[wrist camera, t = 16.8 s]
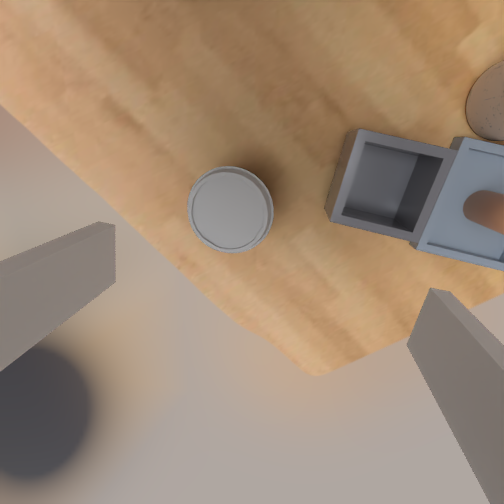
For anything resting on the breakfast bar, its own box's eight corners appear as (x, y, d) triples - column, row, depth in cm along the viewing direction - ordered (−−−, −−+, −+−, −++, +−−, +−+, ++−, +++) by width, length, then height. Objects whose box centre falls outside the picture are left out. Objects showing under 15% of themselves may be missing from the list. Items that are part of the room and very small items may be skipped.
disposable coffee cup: (286, 169, 41) (281, 177, 30) (271, 235, 45) (262, 265, 33) (218, 154, 42) (188, 157, 31) (208, 221, 45) (178, 246, 34)
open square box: (347, 131, 39) (359, 128, 31) (426, 149, 38) (458, 150, 31) (324, 208, 42) (329, 221, 35) (396, 225, 42) (418, 243, 34)
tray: (454, 137, 37) (464, 136, 35) (555, 160, 37) (573, 161, 34) (409, 243, 42) (415, 249, 40) (498, 265, 41) (509, 272, 39)
